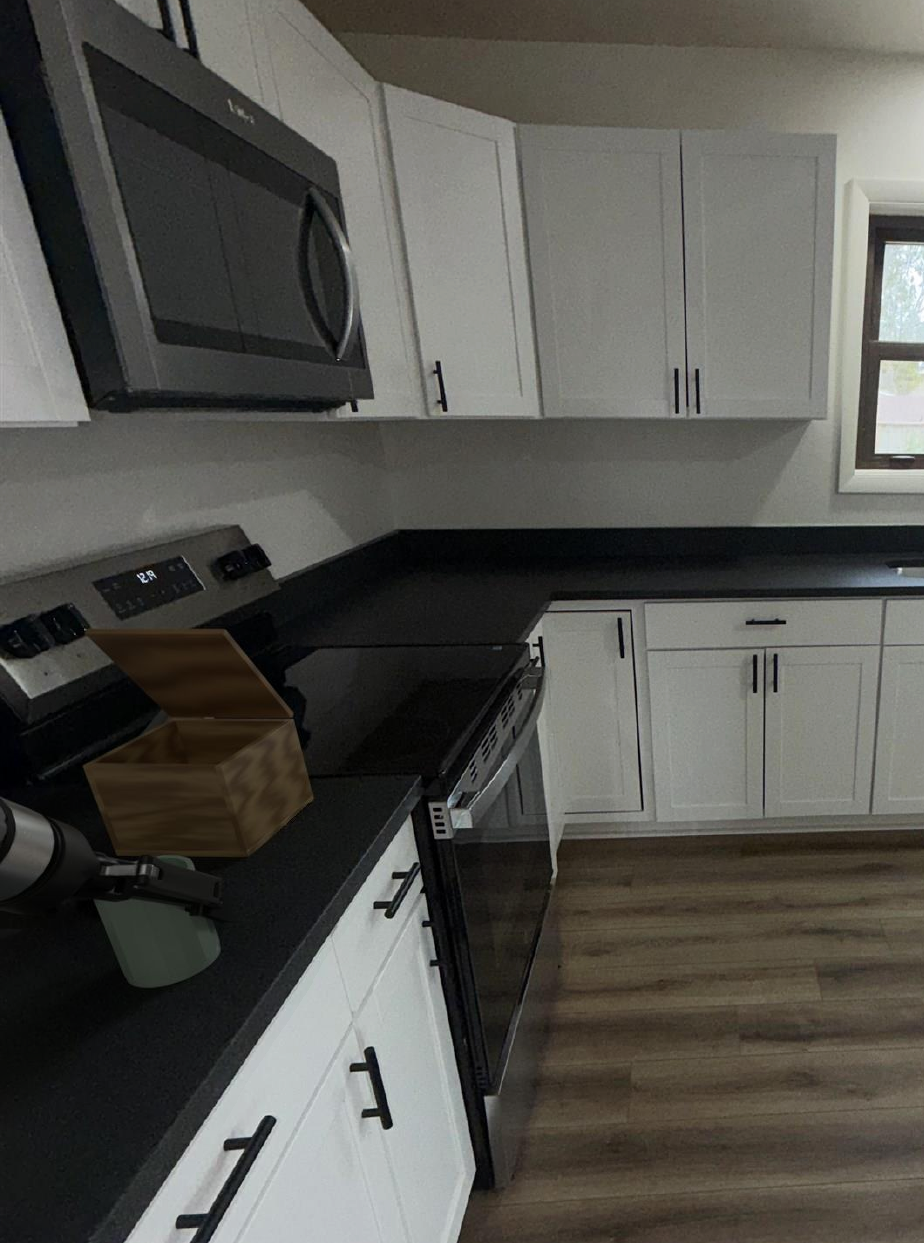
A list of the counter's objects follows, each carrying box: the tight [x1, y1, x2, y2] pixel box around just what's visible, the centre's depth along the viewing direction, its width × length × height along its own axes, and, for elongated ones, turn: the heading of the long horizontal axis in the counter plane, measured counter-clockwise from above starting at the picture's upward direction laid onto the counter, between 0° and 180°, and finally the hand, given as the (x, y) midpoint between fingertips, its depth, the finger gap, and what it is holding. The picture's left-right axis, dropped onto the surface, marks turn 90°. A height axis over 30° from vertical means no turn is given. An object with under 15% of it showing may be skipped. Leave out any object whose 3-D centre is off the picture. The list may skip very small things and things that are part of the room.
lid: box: [84, 628, 294, 719], centre depth 101 cm, size 16×17×1 cm
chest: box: [82, 718, 315, 858], centre depth 104 cm, size 16×17×12 cm
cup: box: [93, 855, 222, 989], centre depth 78 cm, size 8×8×10 cm
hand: (181, 912), depth 82 cm, fingers closed on cup, 8 cm apart
